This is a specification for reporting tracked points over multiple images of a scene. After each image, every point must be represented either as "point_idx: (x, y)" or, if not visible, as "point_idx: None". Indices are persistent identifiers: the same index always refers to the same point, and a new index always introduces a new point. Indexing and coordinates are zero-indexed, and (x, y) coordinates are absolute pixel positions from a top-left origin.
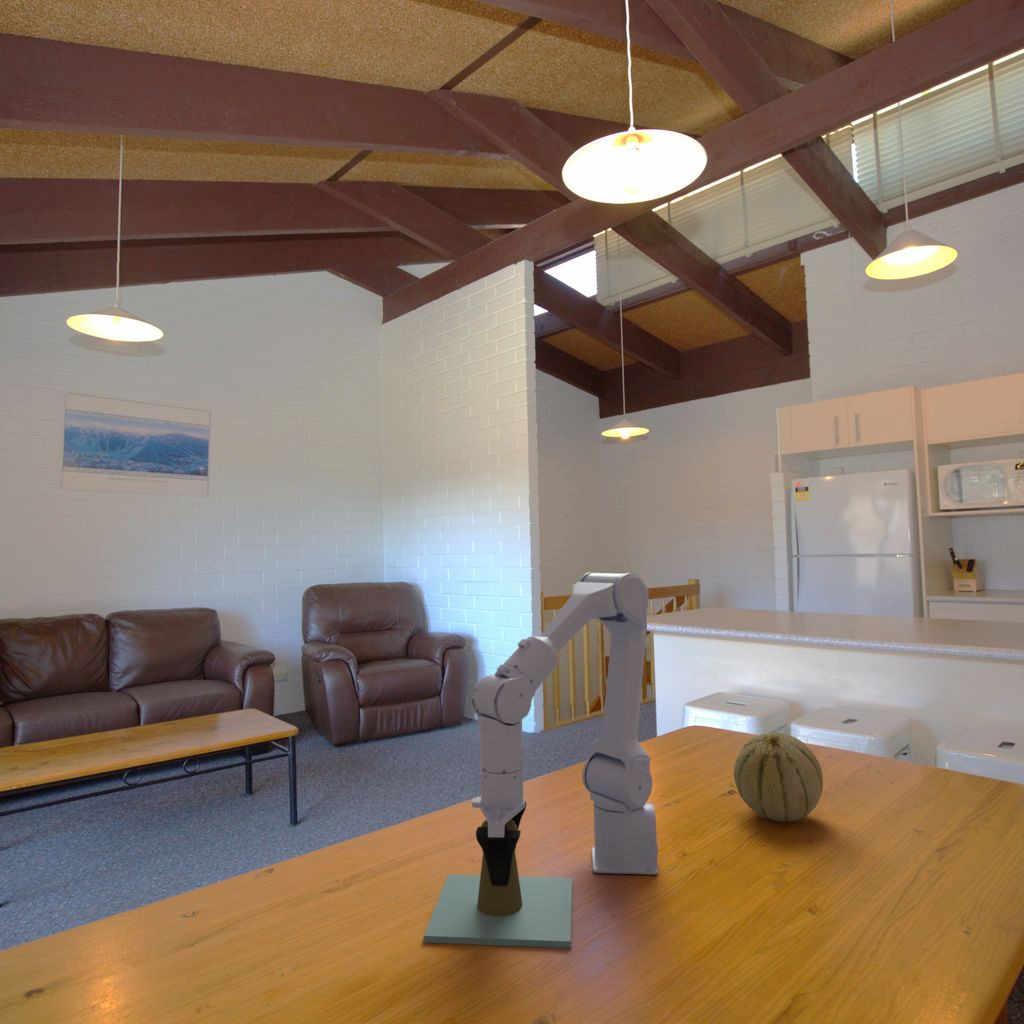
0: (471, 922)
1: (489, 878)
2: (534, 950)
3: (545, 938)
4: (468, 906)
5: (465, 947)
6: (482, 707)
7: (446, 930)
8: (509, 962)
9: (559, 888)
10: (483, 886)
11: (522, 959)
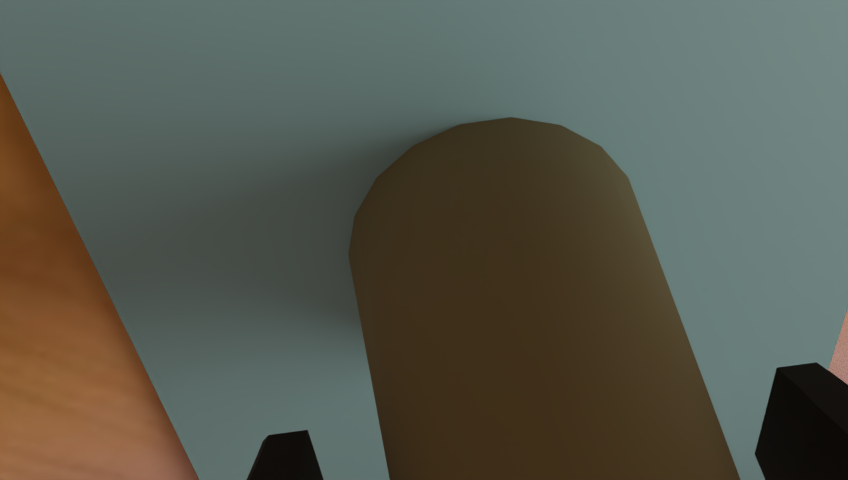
0: (230, 150)
1: (389, 388)
2: (172, 438)
3: None
4: (439, 66)
5: (32, 151)
6: None
7: (56, 6)
8: (27, 377)
9: None
10: (403, 286)
11: (80, 414)
